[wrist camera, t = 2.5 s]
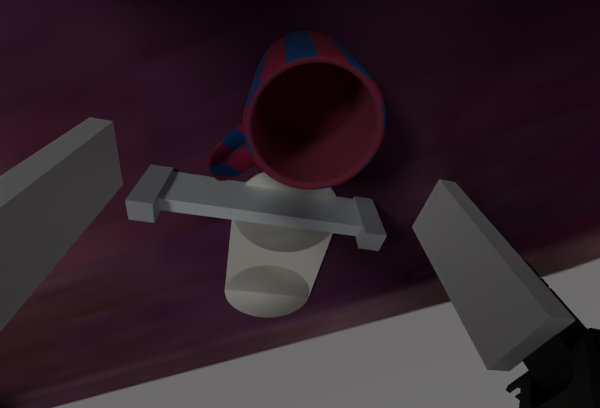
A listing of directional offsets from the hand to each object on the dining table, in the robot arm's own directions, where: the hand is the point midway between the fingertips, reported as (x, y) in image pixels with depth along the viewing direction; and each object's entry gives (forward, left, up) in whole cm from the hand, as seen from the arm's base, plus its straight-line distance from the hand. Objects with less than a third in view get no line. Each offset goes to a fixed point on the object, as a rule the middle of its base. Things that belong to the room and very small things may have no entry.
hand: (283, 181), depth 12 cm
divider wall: (+7, 0, -9) cm, 12 cm away
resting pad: (+15, +2, -9) cm, 17 cm away
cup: (0, 0, -10) cm, 10 cm away
